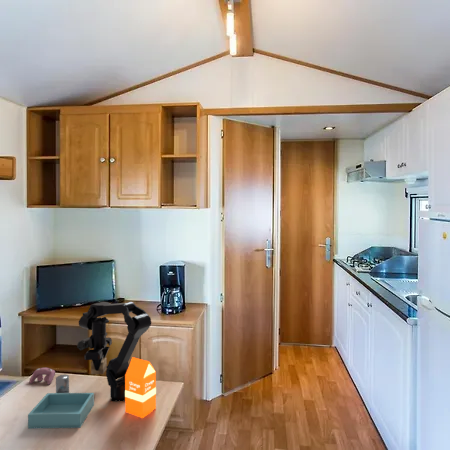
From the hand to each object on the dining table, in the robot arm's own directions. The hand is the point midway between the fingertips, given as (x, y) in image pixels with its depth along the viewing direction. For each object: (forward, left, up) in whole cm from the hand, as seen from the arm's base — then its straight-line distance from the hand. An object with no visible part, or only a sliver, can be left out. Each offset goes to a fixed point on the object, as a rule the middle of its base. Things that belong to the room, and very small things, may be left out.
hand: (99, 367), depth 156 cm
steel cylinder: (+14, +4, -9) cm, 17 cm away
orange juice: (-21, +18, -9) cm, 29 cm away
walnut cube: (0, 0, -2) cm, 2 cm away
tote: (+7, +21, -9) cm, 24 cm away
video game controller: (+27, -7, -9) cm, 29 cm away
